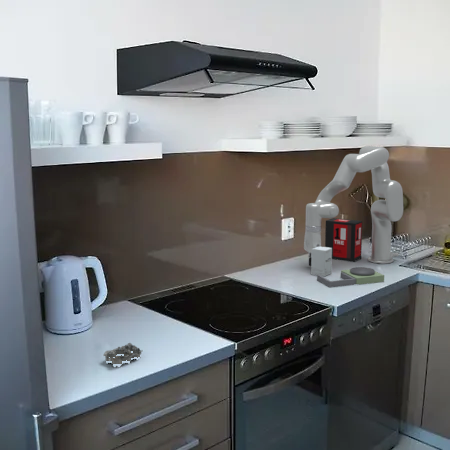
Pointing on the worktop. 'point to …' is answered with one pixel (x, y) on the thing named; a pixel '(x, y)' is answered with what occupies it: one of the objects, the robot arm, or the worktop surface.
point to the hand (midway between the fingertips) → (312, 265)
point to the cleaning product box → (344, 239)
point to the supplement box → (321, 261)
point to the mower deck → (354, 277)
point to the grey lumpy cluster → (122, 350)
